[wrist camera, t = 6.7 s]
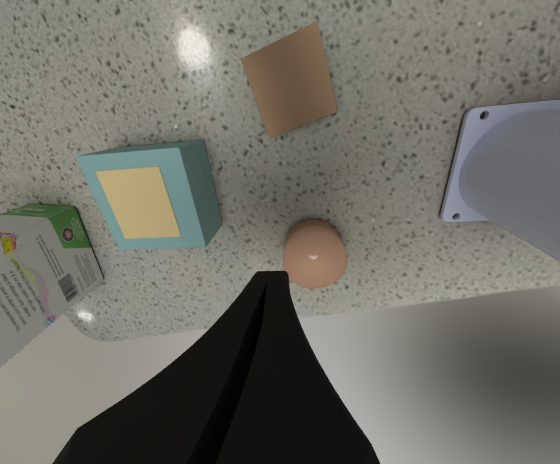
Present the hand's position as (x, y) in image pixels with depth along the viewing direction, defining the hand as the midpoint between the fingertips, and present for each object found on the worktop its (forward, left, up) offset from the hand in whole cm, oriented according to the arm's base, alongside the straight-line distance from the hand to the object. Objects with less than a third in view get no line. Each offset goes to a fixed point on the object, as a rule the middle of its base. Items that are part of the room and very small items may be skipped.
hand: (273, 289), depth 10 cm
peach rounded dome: (-2, +4, -10) cm, 11 cm away
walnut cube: (-1, -8, -10) cm, 13 cm away
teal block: (+6, -2, -8) cm, 10 cm away
